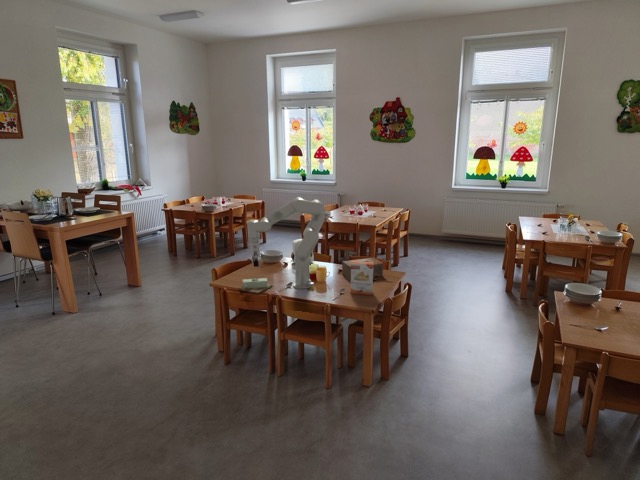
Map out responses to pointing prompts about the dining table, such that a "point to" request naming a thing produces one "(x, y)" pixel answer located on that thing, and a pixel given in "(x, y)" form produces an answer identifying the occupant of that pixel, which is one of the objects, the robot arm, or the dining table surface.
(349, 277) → the tissue box cover
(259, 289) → the board
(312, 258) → the milk container
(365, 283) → the cracker box
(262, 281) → the flange bar
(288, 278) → the dining table surface
